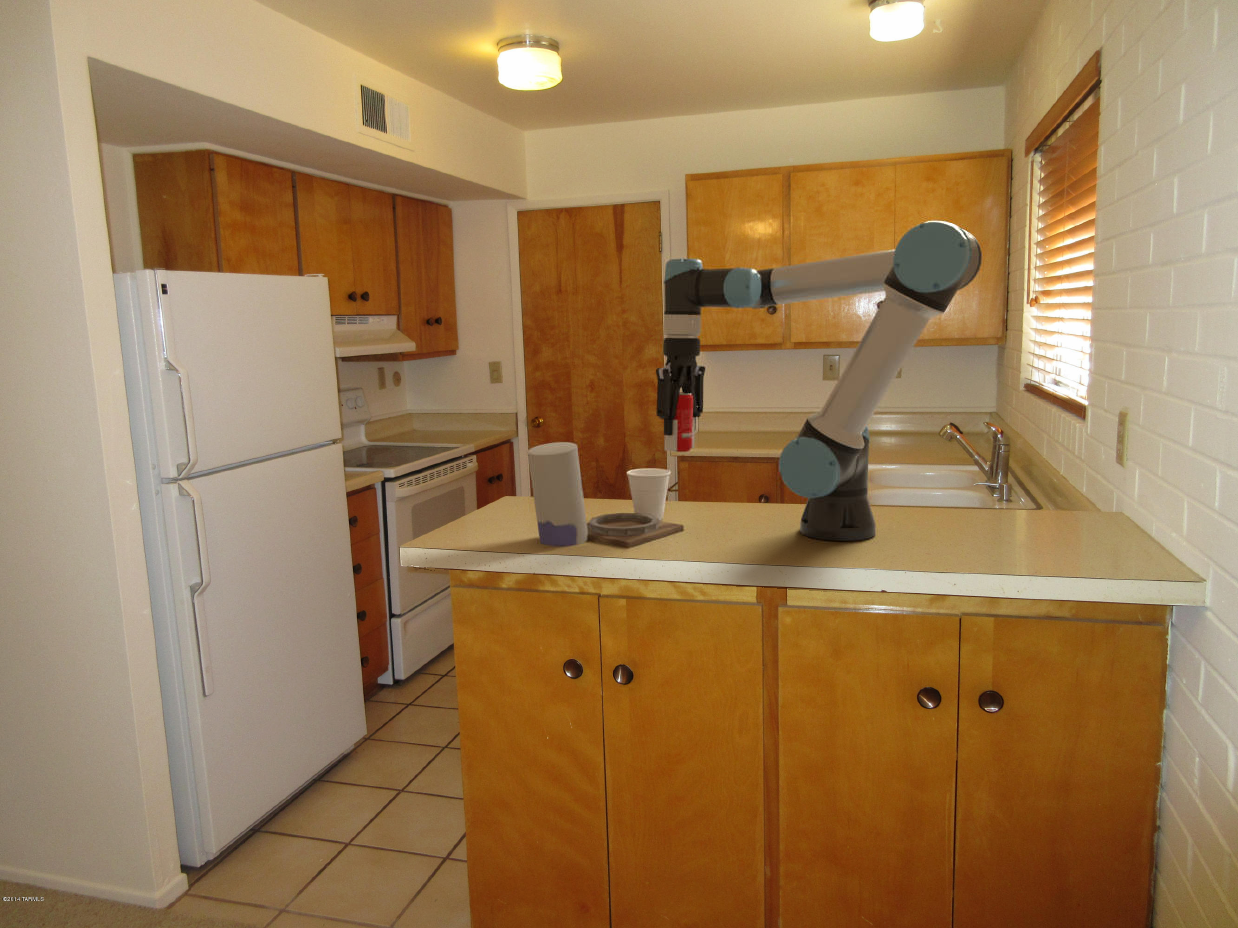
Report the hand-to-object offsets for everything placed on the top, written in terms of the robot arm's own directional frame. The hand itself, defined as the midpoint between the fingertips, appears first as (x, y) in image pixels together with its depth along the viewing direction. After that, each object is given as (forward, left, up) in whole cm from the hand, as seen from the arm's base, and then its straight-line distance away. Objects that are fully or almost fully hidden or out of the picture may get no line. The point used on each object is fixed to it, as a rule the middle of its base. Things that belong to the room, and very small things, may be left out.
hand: (679, 448), depth 178 cm
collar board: (+9, +8, -18) cm, 21 cm away
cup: (+12, -5, -18) cm, 22 cm away
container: (+15, +20, -18) cm, 31 cm away
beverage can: (0, 0, 0) cm, 0 cm away
